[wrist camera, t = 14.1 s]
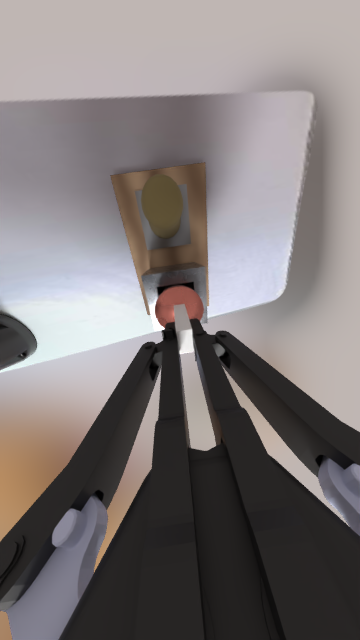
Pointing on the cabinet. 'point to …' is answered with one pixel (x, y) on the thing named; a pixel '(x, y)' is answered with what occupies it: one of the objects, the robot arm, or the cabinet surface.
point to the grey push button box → (174, 275)
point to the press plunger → (177, 303)
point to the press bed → (193, 225)
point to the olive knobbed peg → (162, 205)
